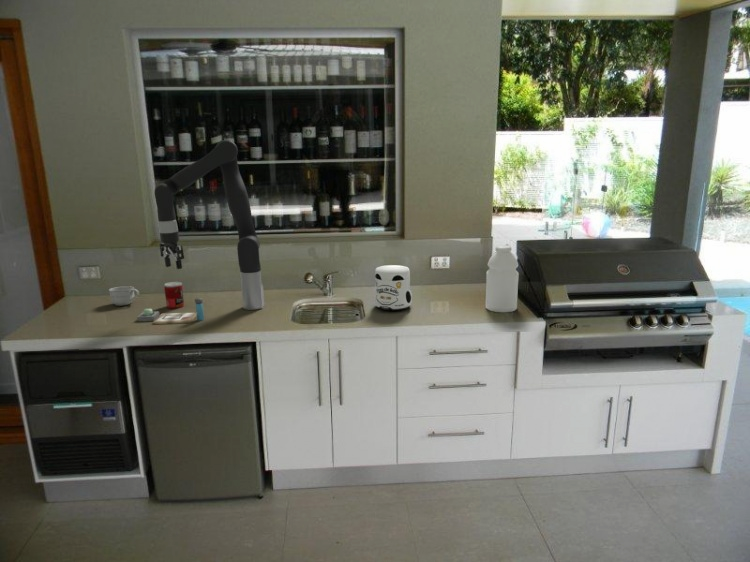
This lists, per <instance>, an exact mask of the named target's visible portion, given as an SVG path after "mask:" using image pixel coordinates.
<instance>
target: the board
mask: <svg viewBox="0 0 750 562" xmlns="http://www.w3.org/2000/svg"><path fill="white" fill-rule="evenodd" d="M159 315H160V316H159V317H158V318H157V319H156V320H155V321H152V324H153V325H167V324H170V325H171V324H192V323H193V321H195V319H197V315H196V312H173V313H172V312H170V313H167V312H166V313H164V312H163V313H161V314H159Z"/></svg>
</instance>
